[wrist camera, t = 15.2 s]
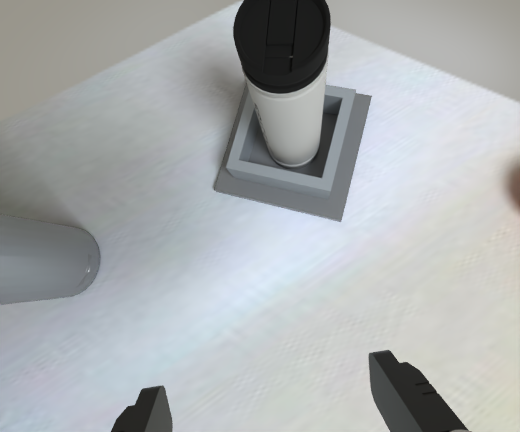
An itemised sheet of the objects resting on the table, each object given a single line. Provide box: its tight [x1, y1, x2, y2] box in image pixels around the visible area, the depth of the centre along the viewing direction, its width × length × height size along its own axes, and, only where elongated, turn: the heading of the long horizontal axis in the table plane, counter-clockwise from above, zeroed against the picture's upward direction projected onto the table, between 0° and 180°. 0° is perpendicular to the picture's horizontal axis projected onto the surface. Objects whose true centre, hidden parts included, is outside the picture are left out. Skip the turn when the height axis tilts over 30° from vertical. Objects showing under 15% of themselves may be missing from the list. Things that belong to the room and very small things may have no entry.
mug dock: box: [214, 83, 372, 222], centre depth 37 cm, size 16×16×5 cm
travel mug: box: [233, 0, 330, 169], centre depth 29 cm, size 6×7×20 cm
